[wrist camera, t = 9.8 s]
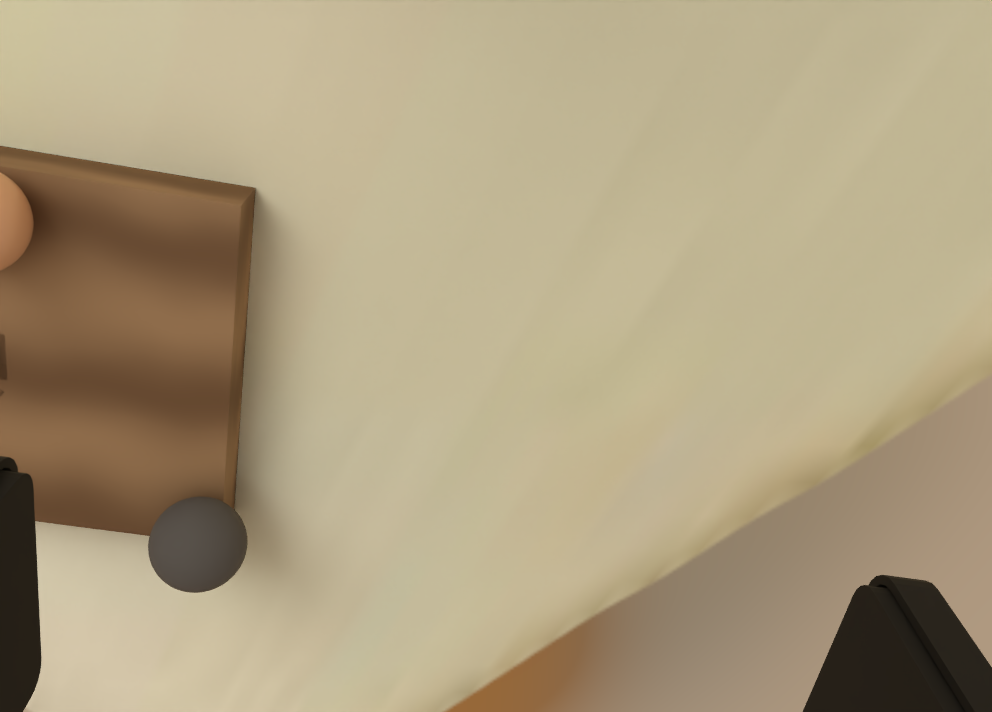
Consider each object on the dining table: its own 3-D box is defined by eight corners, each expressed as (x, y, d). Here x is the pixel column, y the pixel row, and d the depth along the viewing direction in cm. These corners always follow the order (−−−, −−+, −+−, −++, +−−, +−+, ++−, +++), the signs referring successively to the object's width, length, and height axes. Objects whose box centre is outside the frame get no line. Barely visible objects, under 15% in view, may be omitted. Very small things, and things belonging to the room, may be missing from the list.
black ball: (166, 472, 40) (135, 527, 36) (259, 485, 40) (237, 541, 36) (164, 546, 41) (134, 606, 38) (253, 558, 42) (232, 618, 38)
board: (-243, 105, 35) (-293, 118, 33) (255, 187, 37) (241, 205, 35) (-186, 457, 42) (-224, 487, 40) (233, 512, 44) (220, 545, 41)
